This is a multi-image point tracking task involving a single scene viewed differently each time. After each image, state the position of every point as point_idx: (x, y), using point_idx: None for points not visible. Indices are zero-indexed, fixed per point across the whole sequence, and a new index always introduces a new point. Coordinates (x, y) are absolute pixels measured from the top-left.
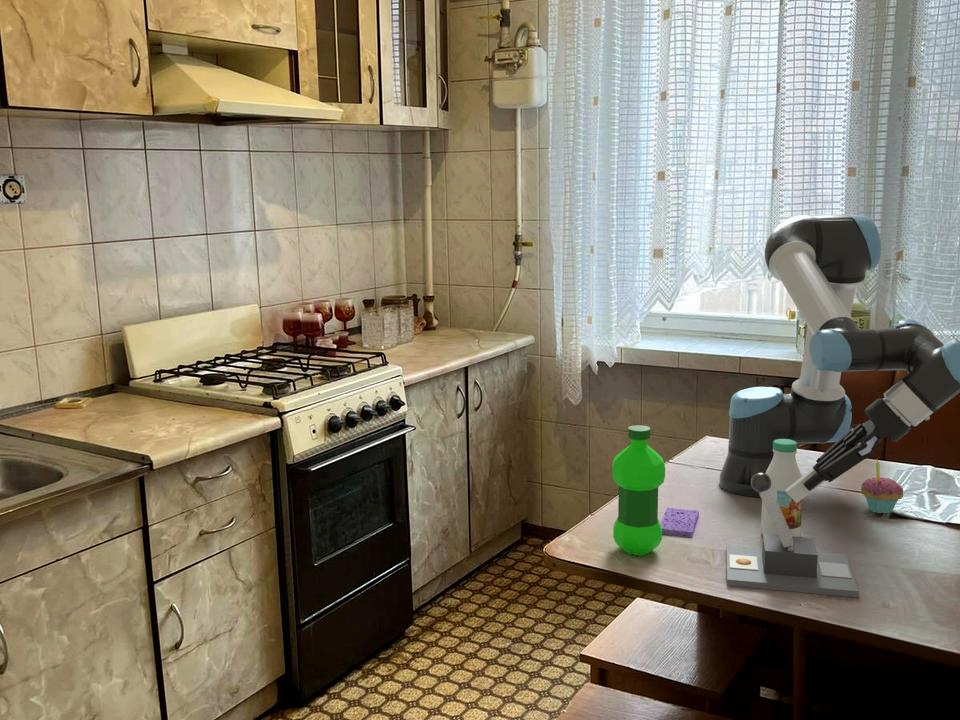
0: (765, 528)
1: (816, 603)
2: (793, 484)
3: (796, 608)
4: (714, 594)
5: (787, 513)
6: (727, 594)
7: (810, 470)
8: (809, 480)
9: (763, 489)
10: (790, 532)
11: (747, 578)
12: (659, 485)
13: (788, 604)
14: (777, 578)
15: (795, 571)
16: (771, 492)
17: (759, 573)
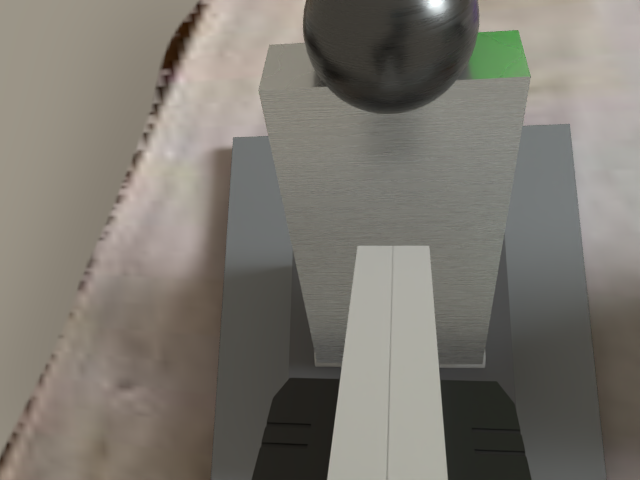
0: None
1: (140, 449)
2: (407, 293)
3: (94, 371)
4: (168, 113)
5: None
6: (174, 151)
7: (424, 468)
8: (278, 436)
9: (309, 63)
10: (447, 353)
11: (253, 203)
12: None
13: (122, 345)
14: (272, 311)
15: None
16: (409, 148)
17: None
